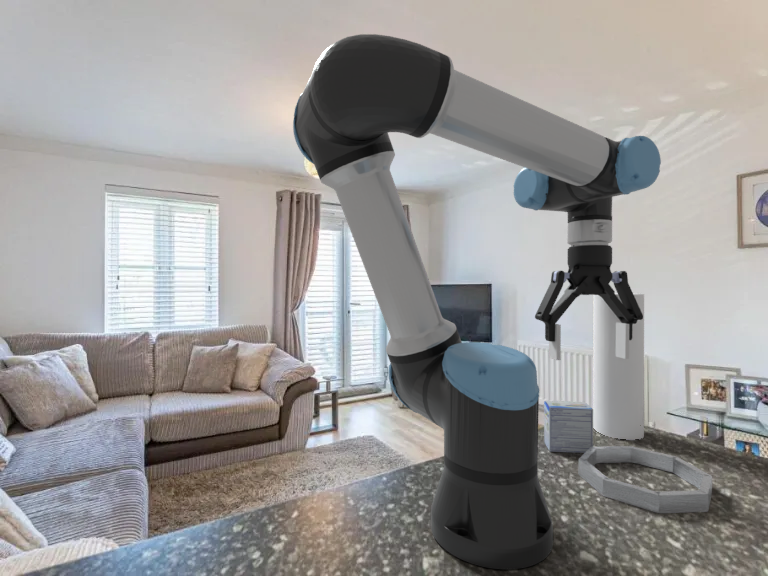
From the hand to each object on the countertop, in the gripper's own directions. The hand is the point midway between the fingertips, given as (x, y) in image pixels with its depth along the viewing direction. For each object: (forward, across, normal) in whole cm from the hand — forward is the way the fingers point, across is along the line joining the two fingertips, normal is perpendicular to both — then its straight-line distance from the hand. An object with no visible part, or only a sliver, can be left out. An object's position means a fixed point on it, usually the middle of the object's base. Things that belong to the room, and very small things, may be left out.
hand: (588, 358), depth 78 cm
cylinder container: (+18, +12, +9) cm, 23 cm away
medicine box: (+18, -3, +2) cm, 18 cm away
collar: (+18, +1, -12) cm, 22 cm away
